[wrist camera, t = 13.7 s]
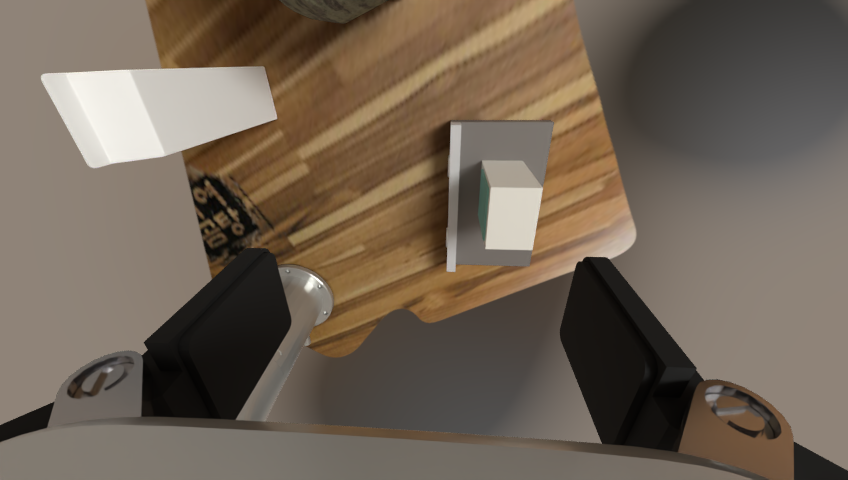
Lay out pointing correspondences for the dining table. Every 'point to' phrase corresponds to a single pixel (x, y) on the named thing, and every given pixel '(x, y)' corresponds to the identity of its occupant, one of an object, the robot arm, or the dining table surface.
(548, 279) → the dining table surface
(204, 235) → the dining table surface
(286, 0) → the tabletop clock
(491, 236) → the carton
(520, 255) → the shelf board
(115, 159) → the milk
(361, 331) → the dining table surface
